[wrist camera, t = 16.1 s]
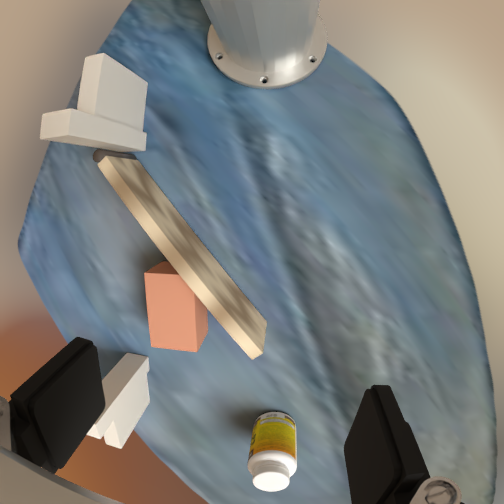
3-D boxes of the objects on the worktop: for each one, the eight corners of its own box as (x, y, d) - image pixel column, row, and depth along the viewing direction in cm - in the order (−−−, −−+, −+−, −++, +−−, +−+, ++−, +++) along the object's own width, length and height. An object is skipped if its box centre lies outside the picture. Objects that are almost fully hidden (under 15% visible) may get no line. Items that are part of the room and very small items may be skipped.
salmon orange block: (162, 261, 35) (144, 272, 30) (206, 263, 34) (193, 275, 29) (166, 327, 36) (151, 346, 31) (208, 331, 36) (197, 351, 31)
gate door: (124, 159, 32) (90, 155, 26) (132, 152, 32) (99, 146, 25) (258, 327, 35) (252, 359, 28) (266, 322, 35) (262, 353, 28)
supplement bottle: (251, 410, 38) (241, 467, 28) (295, 408, 37) (296, 466, 27) (256, 439, 39) (248, 495, 29) (296, 437, 38) (297, 494, 28)
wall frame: (128, 85, 31) (55, 44, 17) (151, 82, 31) (84, 35, 17) (133, 397, 39) (88, 464, 25) (153, 402, 39) (111, 472, 25)
